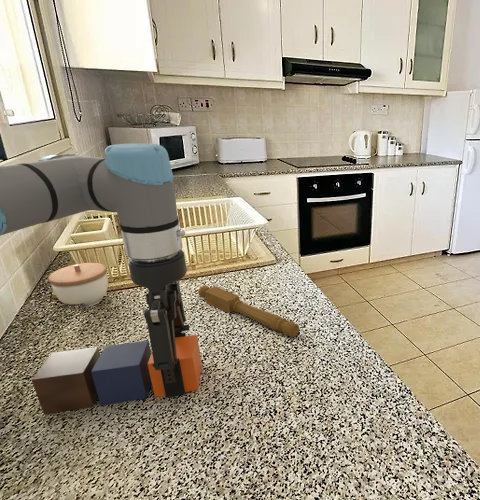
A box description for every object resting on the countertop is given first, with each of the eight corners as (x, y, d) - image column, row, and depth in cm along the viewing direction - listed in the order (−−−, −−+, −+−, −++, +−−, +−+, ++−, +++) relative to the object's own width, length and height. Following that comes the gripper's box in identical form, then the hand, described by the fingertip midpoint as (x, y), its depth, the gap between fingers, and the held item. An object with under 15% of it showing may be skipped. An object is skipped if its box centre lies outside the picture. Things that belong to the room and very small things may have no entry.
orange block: (154, 397, 60) (147, 364, 57) (162, 370, 65) (156, 339, 63) (198, 390, 61) (192, 357, 59) (201, 365, 67) (197, 334, 65)
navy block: (100, 405, 58) (90, 371, 55) (113, 377, 63) (105, 345, 61) (146, 398, 59) (139, 364, 57) (155, 371, 65) (148, 340, 63)
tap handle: (290, 328, 73) (194, 286, 88) (290, 341, 74) (196, 298, 90) (300, 321, 76) (205, 282, 91) (300, 333, 77) (207, 293, 92)
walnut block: (43, 414, 56) (31, 379, 53) (62, 385, 62) (51, 352, 59) (93, 406, 57) (83, 372, 55) (106, 378, 63) (98, 346, 61)
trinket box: (46, 307, 84) (34, 269, 80) (92, 288, 93) (83, 253, 90) (78, 318, 80) (67, 279, 77) (123, 296, 89) (115, 260, 86)
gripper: (172, 278, 47) (196, 418, 55) (191, 231, 64) (206, 342, 73) (105, 284, 45) (140, 428, 53) (143, 233, 63) (165, 348, 71)
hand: (178, 379), depth 63 cm, fingers closed on orange block, 6 cm apart
